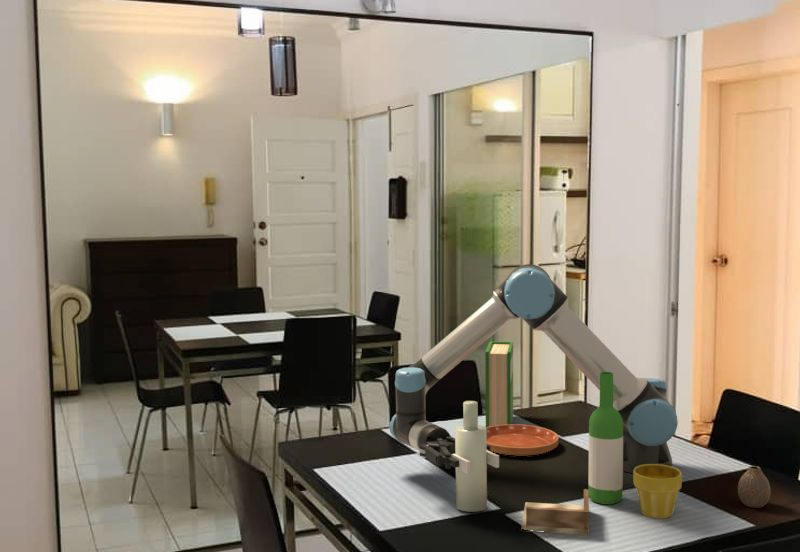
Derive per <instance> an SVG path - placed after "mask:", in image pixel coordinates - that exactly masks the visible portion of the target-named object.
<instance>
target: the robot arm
mask: <svg viewBox="0 0 800 552" xmlns="http://www.w3.org/2000/svg"><path fill="white" fill-rule="evenodd" d="M492 291H493V292H492V296H491V298H490V299H488V300H487V301H486V302H485V303H483V304H482V305H481V306H480V307H479V308H478V309H477V310H475V312H473V313H472V314H471V315H470V316H469V317H467V318H466V319H465V320H464V321H463V322H461V324H459V325H458V326H457V327H456V328H455V329H453V330H452V331H451V332H450V333H449V334H448V335H446V336H445V337H444V338H443V339H441V340H440V341H439V342H438V343H437V344H436V345H435V346H433V347H432V348H431V349H430V350H429V351H428V352H426V353H425V354H423V356H421V357H420V359H419V360H417V361H416V362H415V363H414V364H411V365H409V366H408V367H401V368H399V369H398V370H396V372H395V380H394V387H395V414H394V415H393V416H392V417H391V421H390V422H389V427H388V428H389V431H390V434H391V436H392V437H393V438H394V439H395V440H397V441H398V442H399V443H401V444H403V445H406V446H408V447H411V448H412V449H414V450H416V451H419V456H420V457H423V458H425V459H427V460H428V461H430V462H431V463H433V464H434V465H436V466H437V467H442V466H443V464H444V465H445V469H446V470H450V469H451V467H452V468H455V469H456V468H457V469H459V470H461V471H463V472H465V473H467V474H469V473H470V461H468V460H466V459H464V458H462V457H460V456H458V455H456V454H455V437H453V436H451V434H450V433H449V432H450V431H448V430H447V429H445V428H444V427H441V426H440V425H437V424H435V423H432V422H430V421H428V420H426V413H427V412H426V395H427V393H428V391H429V390H430V389H431V388H432V387H433V386H434V385H435V384H436V383H438V382H439V381H440V380H441V379H442V378H444V376H446V375H447V374H448V373H449V372H450V371H451V370H453V369H454V368H455V367H456V366H458V365H459V364H460V363H461V362H462V361H463V360H465V359H466V358H467V357H468V356H469V355H470V354H472V353H473V352H474V351H475V350H477V349H478V347H480V346H482V345H483V344H484V343H485V342H486V341H487V340H488V339H490V338H491V337H492V336H493V335H494V334H496V333H497V332H498V331H499V330H501V329H502V328H503V327H504V326H505V325H506V324H508V323H509V322H510V321H511V320H519V319H520V318H521V319H522V320H523V322H525V324H527V325H528V326H529V328H530V329H532V331H538V332H539V331H540V332H543V333H544V334H545V335H546V336H547V337H548V338H549V339H550V340H551V341H552V343H554V344H555V345H556V347H558V348H559V349H560V351H561V352H562V353H563V354H564V355H565V356H566V357H567V358H568V359H569V360H570V361H571V362H572V363H573V364H574V365H575V366H576V367H577V369H579V370H580V372H582V373H583V375H584V376H585V377H586V378H587V379H588V380H589V381H590V382H591V383H592V384H593V385H594V386H595V388H597V389H598V390H599V391H600V373H601V372H611V373H613V407H614V408H615V409H616V410H617V411H618V412H619V413H620V415H621V417H622V420H623V472H627V473H631V474H633V470H634V468H635V467H637V466H639V465H644V464H662V465H668V466H672V467H673V458H672V455H671V452H670V448H669V445H668V443H667V442H669V441H670V440H671V439H672V437H673V436H674V435H675V434H676V432H677V430H678V429H677V428H678V422H679V421H678V415H677V411H676V409H675V408H674V406H672V404H671V403H670V401H669V400H668V399H667V391H668V388H667V382H666V381H665V380H663V379H660V378H653V377H652V378H650V377H636V376H635V375H634V374H633V372H631V370H629V369H628V367H627V366H626V365H624V363H623V362H622V361H621V360H620V359H619V358H618V356H617V355H615V354H614V353H613V352H612V351H611V349H609V348H608V347H607V346H606V345H605V343H604V342H602V340H601V339H600V338H599V337H598V336H597V335H596V334H595V333H594V332H593V331H592V330H591V328H589V327H588V325H586V323H585V322H584V321H583V320H582V319H580V318H581V317H579V316H578V315H577V314H576V313H575V312H574V311H573V310H572V309H571V308H570V306H569V297H568V296H567V295H566V294H565V292H563V290H562V289H561V288H560V287H559V286H558V285H557V284H556V283H555V282H554V281H553V280H552V279H551V276H550V275H549V274H548V272H547V271H546V270H545V269H544V268H542V267H540V266H538V265H536V264H531V263H530V264H527V263H526V264H522V265H519V266H517V267H516V268H514V269H513V270H512V271H511V272H510V273H509V275H507V277H506V278H505V280H504V281H503V282H502V283H500V284H499V286H497V288H495V289H494V290H492ZM486 453H487V465H489V466H491V467H493V468H495V469H497V468H500V454H496V453H493V452H491V446H490V445H487V444H486Z"/></svg>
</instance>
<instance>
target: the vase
mask: <svg viewBox="0 0 800 552" xmlns="http://www.w3.org/2000/svg"><path fill="white" fill-rule="evenodd" d="M771 493H772V492H771V486H770V481H769V479H768V477H767V476H766V475H765V474H764V473H763V471H762V469H761V467H760V466H756V465H751V466H748V469H747V470H746V472H744V473H743V474H742V475H741V477H740V478H739V481H738V485H737V495H738V497H739V500H740V502H742V504H743V505H745V506H746V507H748V508H753V509H755V508H756V509H759V508H760V509H761V508H763V507H765V506H766V504H767V503H768V502H769V500H770V497H771Z"/></svg>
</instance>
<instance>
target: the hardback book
mask: <svg viewBox="0 0 800 552" xmlns="http://www.w3.org/2000/svg"><path fill="white" fill-rule="evenodd" d="M484 353H485V354H484V356H485V357H484V358H485V363H484V365H485V367H484V368H485V369H484V370H485V371H484V372H485V374H484V375H485V379H484V380H485V382H484V383H485V385H484V386H485V427H490V426H495V425H505V424H513V420H514V419H513V418H514V341H489V342H488V344H487V347H486V349H485V352H484ZM512 419H513V420H512Z"/></svg>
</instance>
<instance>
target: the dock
mask: <svg viewBox="0 0 800 552" xmlns="http://www.w3.org/2000/svg"><path fill="white" fill-rule="evenodd" d="M588 491H589V488H588V489H587V488H584V489H583V505H578V504H564V503H563V504H562V503H560V504H559V503H545V502H544V503H543V502H531V501H530V502H527V501H525V503H524V510H523V514H522V520H521V530H522V529H524V530H533V531H544V532H543V533H547V532H552V534H563V533H565V535H567V534H568V535H582V536H589V535H590V497H589V492H588Z"/></svg>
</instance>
